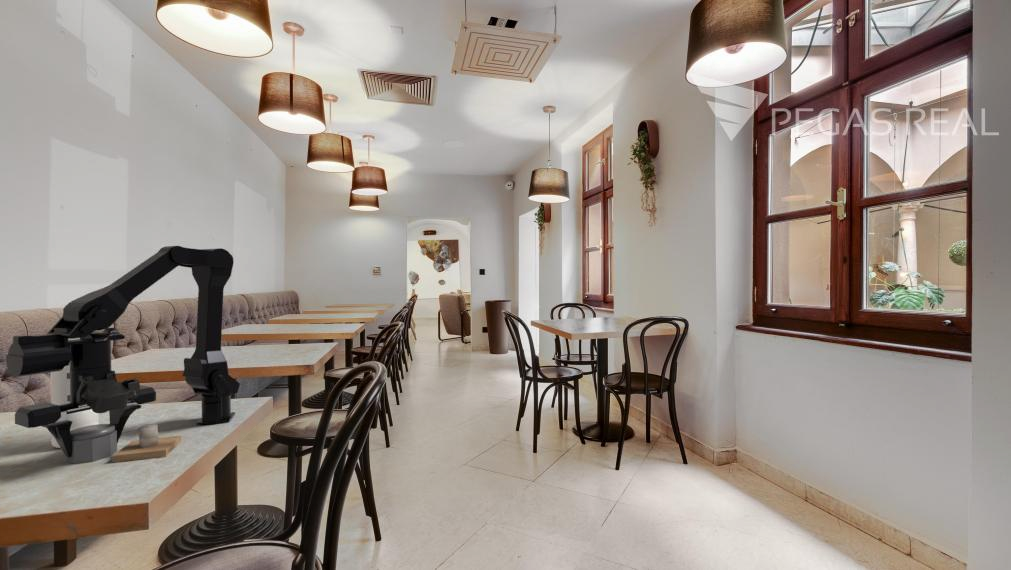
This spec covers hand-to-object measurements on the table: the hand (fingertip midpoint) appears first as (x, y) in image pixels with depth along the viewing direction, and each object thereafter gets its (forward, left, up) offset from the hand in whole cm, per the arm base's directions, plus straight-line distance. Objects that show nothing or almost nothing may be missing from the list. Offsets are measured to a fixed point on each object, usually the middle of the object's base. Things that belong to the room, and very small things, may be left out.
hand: (92, 450), depth 84 cm
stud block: (+1, +9, -1) cm, 9 cm away
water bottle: (-10, -7, -1) cm, 12 cm away
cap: (0, 0, -1) cm, 1 cm away
